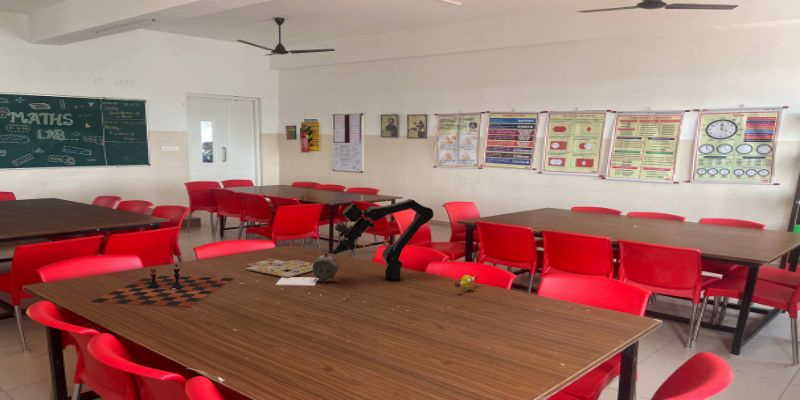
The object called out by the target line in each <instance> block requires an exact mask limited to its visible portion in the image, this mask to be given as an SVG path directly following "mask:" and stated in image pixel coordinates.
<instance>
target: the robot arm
mask: <svg viewBox="0 0 800 400" xmlns="http://www.w3.org/2000/svg"><path fill="white" fill-rule="evenodd" d="M410 209H411V210H412V211H413V212H414V214H415V215H414V217H413V220H412V222H411V223H409V224H408V226H407V227H406V229H405V230H404V231H403V232H402V234H401V235H400V236H399V238H397V240H396V241H395V242H394V243H393V244H392V245H390V244H387V245H386V247H385V248H384V249H383V250H382V254H381V257H382V260H383V261H384V262H385V263H386V268H385V279H386V282H401V278H402V277H401V269H402V268H403V265H404V264H403V263H402V261H401V260H400V257H401V255H402V251H403V249H404V248H405V247H406V246H407V245H408V243H409V242H410V241H411V239H412V238H413V237H414V236H415V235H416V234H417V232H418V231H419V229H420V228H421V227H423V226H424V225H425V224H427V223H428V222H429V221H431V220H432V219H433V217H434V210H433V209H432V208H430V207H427V206H426V205H425V206H424V205H422V204H420V203H418V202H417V201H416V200H414V199H412V198H409V199H407V200H403V201H399V202H394V203H391V204H386V205H376V206H375V205H374V206H369V207H368V208H366V209H362V210H361V209H360V208H359V207H358V206H357V204H355V202H353V203H352V204H350V205H349V206H347V207H345V208H344V210H343V211H342V215H344V216H345V218H346V219H348V220H349V221H350V223H353V222H354V224H353V225H349V226H347V225H346V224H344V223H340V222H336V225H335V226H334V230H335V231H337V232H338V236H340V237H338V243H337V245H336V246H335V248H334V249H333V251H332V254H333V255H336V254H340V253H343V252H345V251H348V250H350V251H352V252H353V251H354V250H355V249H356V244H355V243H356V241H357V240H358V239H359V238H361V237H362V235H363V234H364V233H365V232H366V231H367V230H368V229H369V228H371V229H372V230H374V229H375V221H379V220H381V219H383V218H384V217H386V216H389V215H391V214H395V213H399V212H403V211H406V210H410ZM370 220H371V221H370Z"/></svg>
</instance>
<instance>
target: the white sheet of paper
mask: <svg viewBox="0 0 800 400" xmlns="http://www.w3.org/2000/svg"><path fill="white" fill-rule="evenodd" d="M315 278H316V277H308V276H307V277H306V276H304V277H299V276H298V277H297V276H292V277H288V278H286V277H281V276H280V278H279V280H278V281H277V282H276V284H275V286H301V287H302V286H306V287H308V286H309V287H310V286H311V287H315V286H316V285H317V283H318V280H319V279H318V278H317V279H316V280H315Z"/></svg>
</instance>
